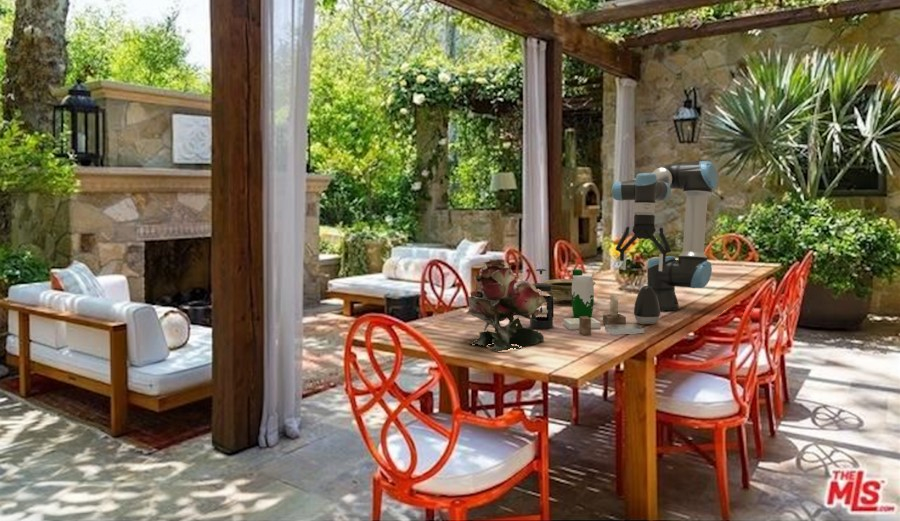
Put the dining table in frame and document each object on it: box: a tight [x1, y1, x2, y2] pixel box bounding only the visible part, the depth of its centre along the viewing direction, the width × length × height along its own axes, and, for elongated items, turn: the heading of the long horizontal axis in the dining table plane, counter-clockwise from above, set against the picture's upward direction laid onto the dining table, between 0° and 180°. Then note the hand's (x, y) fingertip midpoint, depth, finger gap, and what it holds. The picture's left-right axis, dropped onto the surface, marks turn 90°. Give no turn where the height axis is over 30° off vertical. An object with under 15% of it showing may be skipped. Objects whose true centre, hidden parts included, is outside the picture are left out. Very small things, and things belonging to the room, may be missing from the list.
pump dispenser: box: [633, 285, 661, 325], centre depth 273 cm, size 10×10×15 cm
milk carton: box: [571, 269, 595, 319], centre depth 289 cm, size 9×9×20 cm
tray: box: [562, 317, 601, 331], centre depth 269 cm, size 12×10×2 cm
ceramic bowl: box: [543, 278, 596, 305], centre depth 326 cm, size 30×24×10 cm
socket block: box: [602, 313, 627, 326], centre depth 270 cm, size 7×7×4 cm
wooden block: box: [578, 316, 592, 336], centre depth 257 cm, size 3×5×6 cm, turn 5°
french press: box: [528, 268, 554, 330], centre depth 270 cm, size 12×9×23 cm
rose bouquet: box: [466, 258, 547, 352], centre depth 245 cm, size 26×29×30 cm
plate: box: [604, 323, 645, 336], centre depth 258 cm, size 12×9×2 cm
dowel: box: [609, 294, 619, 317], centre depth 270 cm, size 3×3×12 cm
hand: (642, 270), depth 261 cm, fingers open, 13 cm apart
